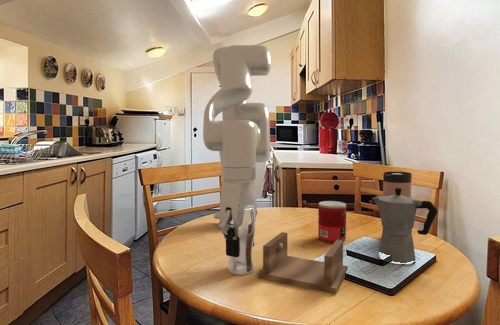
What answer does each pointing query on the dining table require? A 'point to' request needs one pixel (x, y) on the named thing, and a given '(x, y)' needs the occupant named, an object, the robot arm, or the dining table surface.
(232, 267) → the beer glass
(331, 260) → the holder
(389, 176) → the travel mug
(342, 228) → the canned food
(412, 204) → the coffeepot
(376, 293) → the dining table surface
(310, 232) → the dining table surface
